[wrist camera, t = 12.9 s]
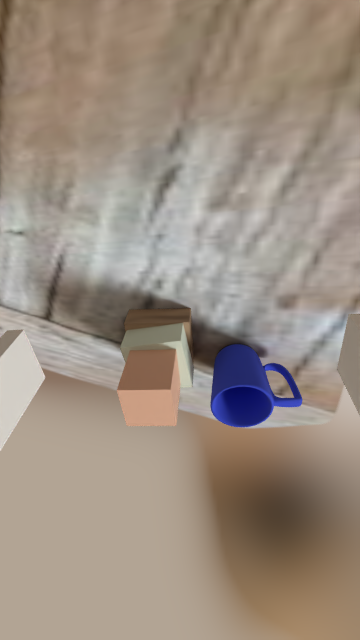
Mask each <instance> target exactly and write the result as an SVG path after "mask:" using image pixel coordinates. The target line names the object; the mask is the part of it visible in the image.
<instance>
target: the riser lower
mask: <svg viewBox="0 0 360 640" xmlns="http://www.w3.org/2000/svg"><path fill="white" fill-rule="evenodd" d="M178 323H183V325H184V330H185V334H186V338H187V342H188V346H189V350H190V354H191V358H192V362H193V360H194V353H193V338H192V323H191V308H177V309H136V310H129V312H128V314H127V317H126V319H125V322H124V327H125V332H126V331H127V330H132V329H140V328H147V327H155V326H163V325H170V324H178Z"/></svg>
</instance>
